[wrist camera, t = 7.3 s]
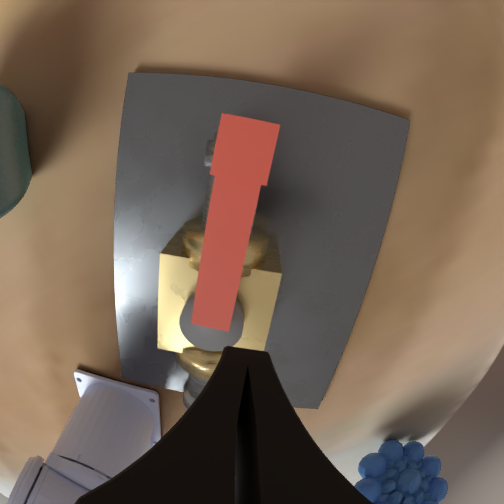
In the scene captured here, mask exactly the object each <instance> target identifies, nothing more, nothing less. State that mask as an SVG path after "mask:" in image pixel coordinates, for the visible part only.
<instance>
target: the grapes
mask: <svg viewBox="0 0 504 504" xmlns="http://www.w3.org/2000/svg"><path fill="white" fill-rule="evenodd" d="M423 457H424V447H423V445H422V444H421V443H420V442H416V441H413V442H409V443H407V444H406V445H405V446H404V447H403V446H402V444H401V443H400V442H399V441H397V440H388V441H386V442H385V443H383V444H382V445H381V447H380V449H379V450H378V453H370V454H368V455H366V456H365V457H363V458H362V460H361V462H360V463H359V468H358V471H359V473H360V475H361V477H362V478H363V479H362V480H360V481H358V482H357V483H356V485H355V486H354V487H355V488H356V489H357V490H358V491H359V492H360V493H361V494H363V495H364V496H365V497H366V498H367V499H368V500H370V501H371V502H372V503H373V504H439V503H438V502H440V501H441V500H442V499H444V497H445V496H446V494H447V490H448V485H447V481H446V480H444V479H443V478H439V477H436V476H438V475H439V473H440V471H441V461H440V459H439V458H438V457H436V456H432V455H431V456H426V457H425V458H424V459H423Z"/></svg>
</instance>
